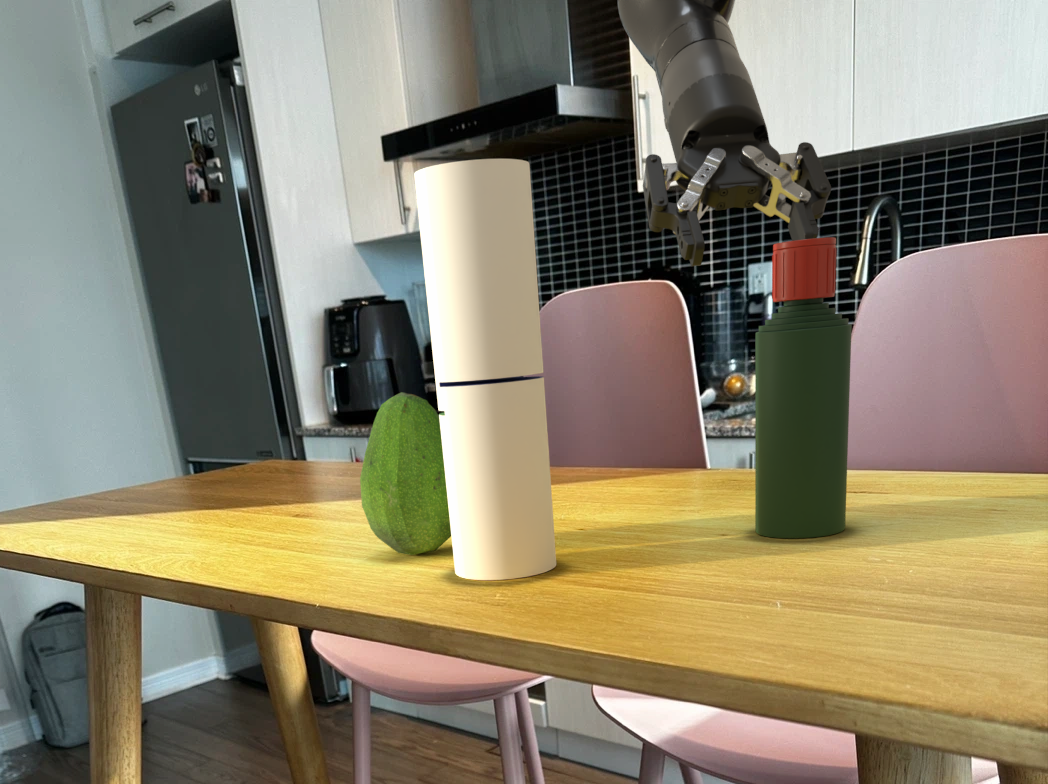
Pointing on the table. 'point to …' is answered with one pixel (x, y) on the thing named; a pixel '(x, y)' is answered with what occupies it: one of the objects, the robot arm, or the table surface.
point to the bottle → (802, 421)
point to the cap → (804, 269)
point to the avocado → (406, 477)
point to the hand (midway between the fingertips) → (752, 252)
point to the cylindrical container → (488, 364)
